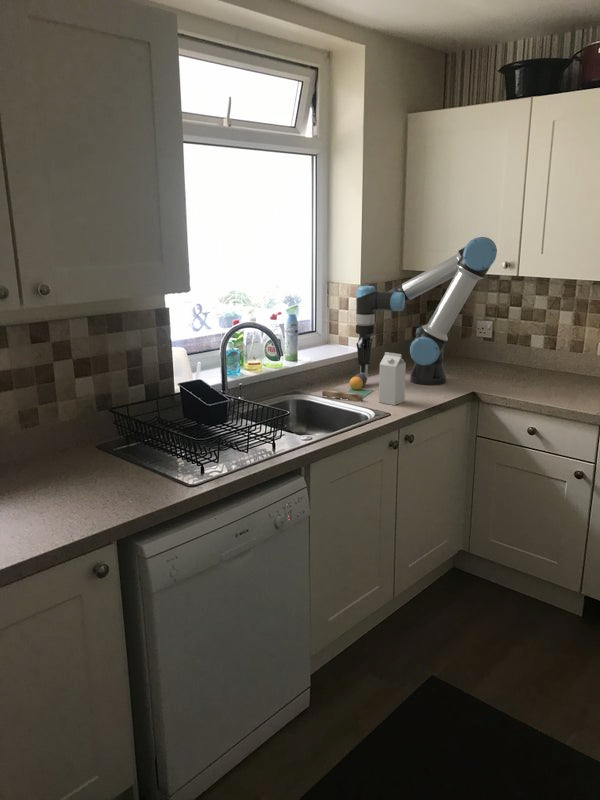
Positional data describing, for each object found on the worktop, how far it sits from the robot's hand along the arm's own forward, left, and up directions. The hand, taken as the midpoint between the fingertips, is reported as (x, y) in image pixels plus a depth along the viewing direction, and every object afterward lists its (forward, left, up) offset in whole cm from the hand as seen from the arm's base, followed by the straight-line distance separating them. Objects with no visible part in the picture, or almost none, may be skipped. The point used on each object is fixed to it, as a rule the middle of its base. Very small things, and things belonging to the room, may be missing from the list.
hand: (363, 379), depth 277 cm
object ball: (0, +10, +1) cm, 10 cm away
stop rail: (0, +25, -2) cm, 25 cm away
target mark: (0, +16, -2) cm, 16 cm away
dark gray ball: (0, +4, +1) cm, 4 cm away
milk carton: (-19, +22, -2) cm, 30 cm away
